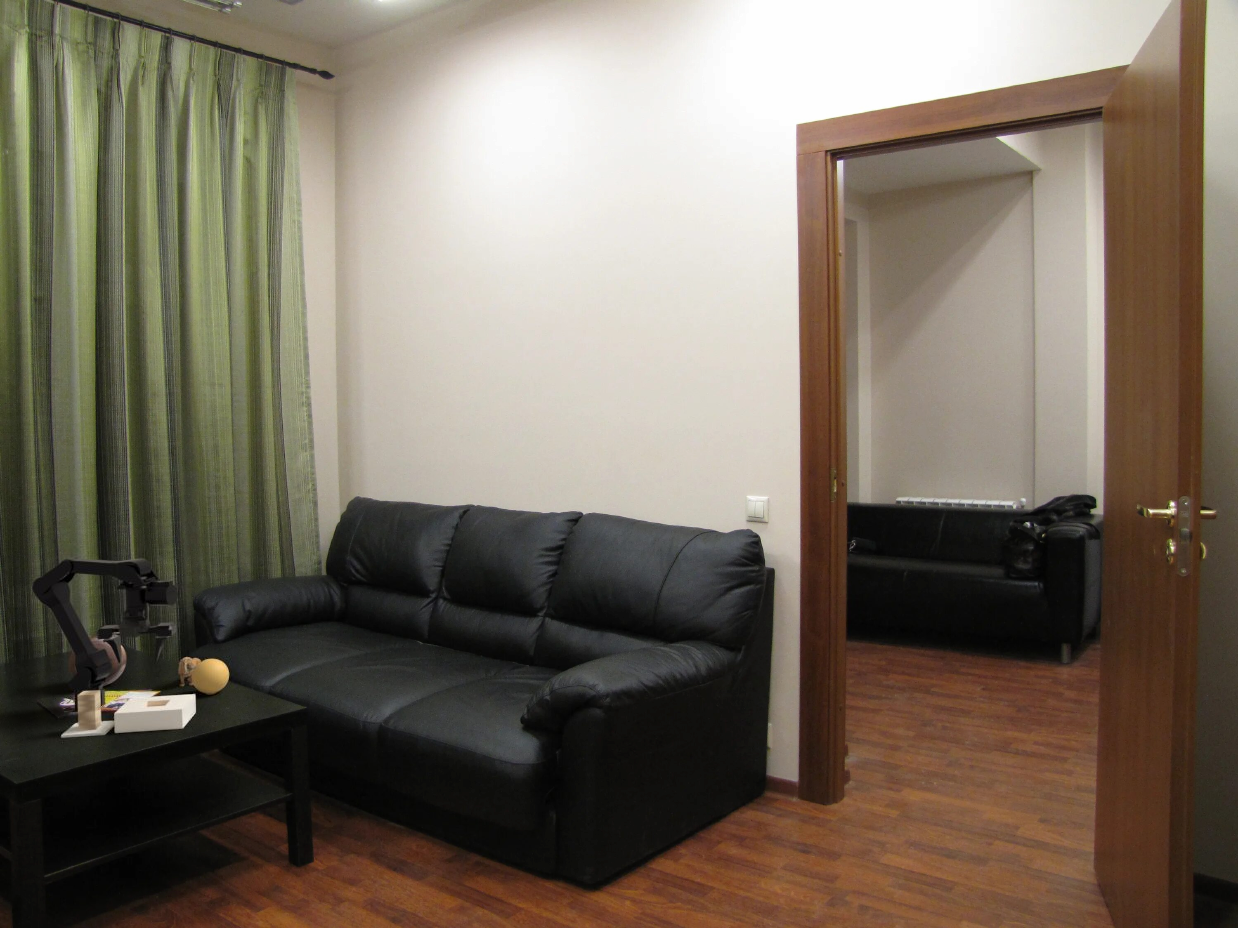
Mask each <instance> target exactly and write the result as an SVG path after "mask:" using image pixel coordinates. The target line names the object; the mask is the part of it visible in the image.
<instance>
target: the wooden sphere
mask: <svg viewBox="0 0 1238 928" xmlns="http://www.w3.org/2000/svg"><path fill="white" fill-rule="evenodd" d="M89 638H90V640H91V642H92V644H93V646H94V647H95V648H97V649H98V650H101V649H105V650H106V651H107V654H108V656H109V658H110V659H111V660H112V661H111V665H112V669H111V672H110V674H109V675H108V676H107V679H106V682H103V683H102V684H103V687H105V686H107V685H109V684H112V683H113V682H116V680H117V679H119V677H120V676H121V675H122V674H123V672H124V670H125V668H126V666H127V652H126V650H125V648H124V647H123V645H122V644H121V651H122V661H121V663H118V660H117V658H116V656H115V654H114V651H113V649H112V648H111V646H110V645H109V644H108V643H107V642H103V640H104V639H97V635H95V636H91V637H89ZM68 665H69V666H68V667H69V671H70V673H71V675H72V678H73V677H74V676H75V675H76V674H77V672H76V669H75V654H74V652H73V651H72V652H71V654H70V657H69V661H68ZM100 684H101V683H100Z"/></svg>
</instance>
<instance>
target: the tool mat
mask: <svg viewBox="0 0 1238 928" xmlns="http://www.w3.org/2000/svg"><path fill="white" fill-rule="evenodd" d="M113 728H115V722H114V720H103V721H102V720H101V725H100V726H99V727H98V728H97V729H96V730H81V731H79V727H78V722H76V723H74V724H73V725H72V726H70V727H69V728H68V729H67V730H66V731H64V732H63V733H62V734H61V736H60V738H62V739H63V738H77V737H88V736H89V737H91V736H94V737H95V736H105V735H106V734H107V733H108V732H110V731H111V730H112V729H113Z"/></svg>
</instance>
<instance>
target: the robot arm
mask: <svg viewBox="0 0 1238 928" xmlns="http://www.w3.org/2000/svg"><path fill="white" fill-rule="evenodd" d="M77 574H80V575H91V576H104V577H112V578H115V579H116V580H117V581H121V583H120V584H119V585H118V586H116V588H115V589H116V590H121V591H122V590H123V591H124V611H123V618H122V620H121V621H120V622H119V623H120V624H109V625H108V624H107V625H104V626H101V627H100V628H99V629H98V630H97V632H96V636H97V639H104V640H103V642H107V643H108V644H109V645H110V646H111V648H112V649H113V651H114V654H115V656H116V658H117V660H118V663H121V661H122V651H121V645H122V639H126V638H138V637H140V636H141V635H144V634H145V635H147V634H155V635H156V636H155V638H154V641H155V645H154V646H155V648H154V661H155V662H158V661H159V657H160V655H161V652H162V649H163V647H164V644H165V642H166V640H167V639H169V638H170V637H172V636H173V635H175V633H177V631H178V630H177V624H176V623H175V621H174V622H173V621H172V622H160V623H158V624H157V625H156V626H155V625H154V626H151V622H150V620H149V619H150V616H149V614H150V613H149V611H150V606H166V607H167V606H170V607H172V606H174V605H175V604H176V603H177V600H178V595H179V594H178V593H179V592H178V590H177V587H176V586H175V584H174V581H173V580H171V579H170V580H161V579H160V578H159V576H158V575H157V574H156V573H155V570H153V568H152V566H151V564H150V562H149V560H148V559H146V558H143V557H142V558H133V559H125V560H107V559H106V560H104V559H93V558H92V559H89V558H80V557H70V558H65V559H63V560H62V561H61V562H60V563H58V564H57V565H56V566H55V567H53V568H52V569H50V570H49V571H47V572H46V573H45V574H43V575H42V576H40V577H37V578H36V579H34V581H33V583H32V586H31V590H32V592H33V594H34V595H35V597H36V599H38V601H39V603H41V604H43V605H44V606H45V607H47V608H48V609H49V610H50V611H51V612H52V614H53V616H54V619H55V620H56V622H57V624H58V626H59V627H60V630H61V631H62V633H63V635H64V637H65V639H66V641H67V642H68V644H69V646H70V648H71V651H72V652H74V654H75V669H76V672H77V674H76V675H75V676H74V677H73V676H72V678H71V679H70V680H68V682H67V683H68V687H69V689H70V690H71V691H73V692H74V693H73V695H74V696H73V697H74V708H73V709H72V712H78V695H79V694H80V693H82V692H83V691H95V690H100V699H101V706H102V705H103V706H105V704H106V689H104V688H103V687H104V686H103V684H102V683H103V682H106V679H107V676H108V675H109V674H110V672H111V669H112V665H111V661H112V660H111V659H110V658H109V656H108V654H107V651H106V650H105V649H101V650H98V649H97V648H95V647H94V646H93V644H92V642H91V640H90V638H91V637H90V636H89V634H88V633H87V631H86V629H85V627H84V626H83V623H82V621H81V619H80V617H79V616H78V614H77V612H76V610H75V608H74V607H73V604H72V603H71V600H70V599H71V589H70V586H69V584H71V582H72V581H73V580H74V578H75V577H76V575H77ZM100 683H101V684H100ZM103 706H102V707H103Z"/></svg>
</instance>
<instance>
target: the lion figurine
mask: <svg viewBox="0 0 1238 928" xmlns="http://www.w3.org/2000/svg"><path fill="white" fill-rule="evenodd" d="M200 662H202V660H201V659H199V658H197V657H194V658H191V657H188V656H186V657H183V658H182V659H180V660H179V663H178V667H177V674H178V675H179V677H180V684H179V686H180V687H184V686H185V678H187V677H188V678H187V679H186V681H189V682H188V684H189V686H194V684H193V682H192V674H193V670H194V668H195V667H196V665H197V664H198V663H200Z"/></svg>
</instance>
